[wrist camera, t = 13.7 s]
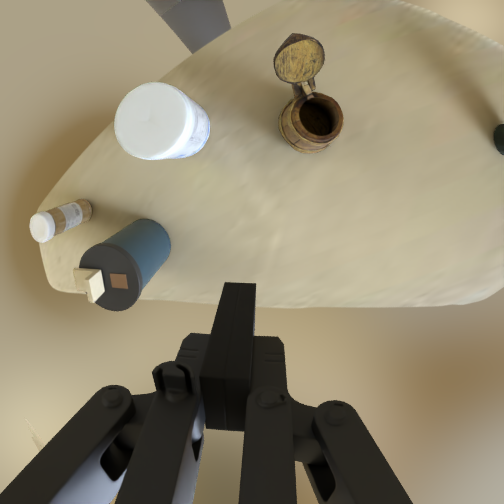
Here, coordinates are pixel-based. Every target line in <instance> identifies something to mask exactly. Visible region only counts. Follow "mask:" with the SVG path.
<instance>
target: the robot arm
mask: <svg viewBox="0 0 504 504" xmlns="http://www.w3.org/2000/svg"><path fill="white" fill-rule="evenodd" d="M255 301H256V283H231V282H225V284H224V287H223V291H222V294H221V298H220V301H219V305H218V309H217V312H216V316H215V320H214V324H213V327H212V330H211V334H199V333H190V334H189V335H188V336H187V337H186V338H185V339H184V340H183V341H182V344H181V347H180V350H179V352H178V354H177V357H176V359H175V361H169V362H164V363H162V364H160V365H159V366H156V367H155V369H154V370H153V371H152V375H153V379H154V383H155V387H156V391H155V392H153V393H149V394H140V395H131V393H130V391H129V390H128V389H126V388H125V387H123V386H119V385H109V386H106V387H103V388H102V389H100V390H99V391H97V392H96V393H95V394H94V395H93V397H92V398H91V399H90V400H89V401H88V402H87V403H86V404H85V405H84V406H83V407H82V408H81V409H80V410H79V411H78V412H77V413H76V414H75V415H74V416H73V417H72V418H71V419H70V420H69V421H68V423H67V424H66V425H65V426H64V427H63V428H62V429H61V430H60V431H59V432H58V433H57V434H56V435H55V436H54V437H53V438H52V440H50V442H48V444H47V445H46V446H45V447H44V448H43V449H42V450H41V451H40V452H39V453H38V454H37V455H36V456H35V457H34V458H33V459H32V461H31V462H30V463H29V464H28V465H27V466H26V467H25V468H24V469H23V470H22V471H21V472H20V473H19V475H17V477H16V478H15V479H14V480H13V481H12V482H11V483H10V484H9V485H8V486H7V487H6V489H4V491H3V492H2V493H1V494H0V504H110V503H111V501H112V500H113V498H114V497H115V496H116V494H117V493H118V495H117V499H116V501H115V504H193V498H194V493H195V487H196V482H197V476H198V470H199V465H200V460H201V454H202V449H203V444H204V435H203V429H204V424H205V425H206V429H216V430H217V429H218V430H228V431H244V444H243V456H242V468H241V480H240V493H239V504H297V496H296V476H295V461H299V462H302V463H303V466H304V468H305V471H306V473H307V476H308V478H309V481H310V483H311V486H312V488H313V491H314V493H315V495H316V498H317V500H318V503H319V504H413V503H412V501H411V500H410V498H409V496H408V495H407V493H406V492H405V490H404V488H403V487H402V485H401V483H400V482H399V480H398V478H397V477H396V475H395V474H394V472H393V470H392V469H391V467H390V466H389V464H388V462H387V461H386V459H385V457H384V456H383V454H382V452H381V451H380V449H379V448H378V446H377V445H376V443H375V441H374V439H373V438H372V436H371V435H370V433H369V431H368V430H367V428H366V426H365V425H364V423H363V422H362V420H361V419H360V417H359V415H358V414H357V412H356V410H355V409H354V408H353V407H352V406H351V405H349V404H347V403H345V402H342V401H337V400H333V401H327V402H324V403H322V404H320V405H319V406H318V407H317V408H316V407H312V406H307V405H304V404H301V403H299V402H297V401H295V400H294V399H293V398H292V397H291V396H290V394H289V393H288V390H287V378H286V365H285V355H284V354H285V352H284V344H283V343H282V342H281V340H280V339H279V337H271V336H254V330H255V328H254V327H255ZM118 491H119V492H118Z"/></svg>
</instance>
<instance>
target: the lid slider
mask: <svg viewBox="0 0 504 504" xmlns="http://www.w3.org/2000/svg"><path fill="white" fill-rule="evenodd" d="M73 274H74V279H75V284H76V288H77V291H82V292H87V296H88V300H89V302H91V303H94V302H95V301H96V300H97V299H98V298H99V297H100V296H101V295H102V294H103V293H104V292H105V290H104V284H103V279H102V273H101V270H99V269H85V268H74V269H73Z"/></svg>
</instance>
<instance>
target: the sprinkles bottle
mask: <svg viewBox="0 0 504 504" xmlns="http://www.w3.org/2000/svg"><path fill="white" fill-rule="evenodd" d="M91 214H92V209H91V206H90V204H89V203H88V201H86V200H84V199H79V200H77V201H74V202H71V203H67V204H64V205H61V206H59V207H56V208H53V209H51V210H48V211H42V212H39V213H37V214H35V215H33V217H32V218H31V220H30V231H31V234H32V236H33V238H34V239H35V240H36V241H38V242H41V243H42V242H46V241H48V240H50V239H51V238H52V237H53V236H55V235H57V234H60V233H62V232H64V231H66V230H69V229H71V228H73V227H75V226H77V225H79V224H81V223H84V222H87V221H88V220H89V219H90V217H91Z"/></svg>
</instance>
